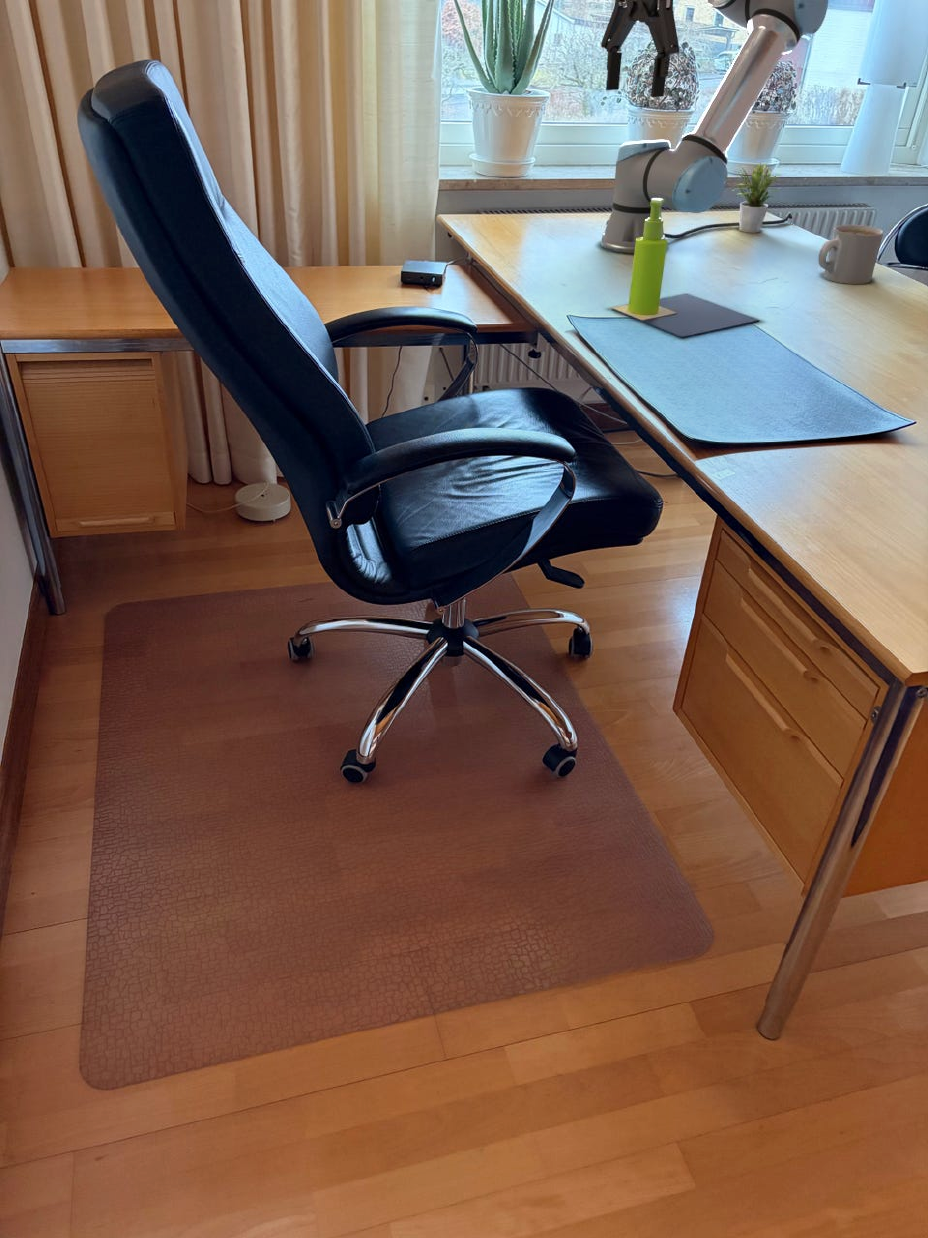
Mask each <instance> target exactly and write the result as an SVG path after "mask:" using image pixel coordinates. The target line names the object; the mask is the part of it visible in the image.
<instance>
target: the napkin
mask: <svg viewBox="0 0 928 1238" xmlns="http://www.w3.org/2000/svg"><path fill="white" fill-rule="evenodd" d="M628 305H629V304H624V305H619V306H613V307H611V310H612V311H614V312H617V313H618V314H622V315H623V316H626V317H628V318H631V319H634V320H636V321H637V322H641V323H643V324H645V325H647V326H651V327H653V328H655V329H657V330H661V331H663V332H665V333H668V334H669V335H673V336H675V337H677V338H679V339H685V338H691V337H695V336H699V335H704V334H708V333H713V332H717V331H718V332H719V331H722V330H726V329H731V328H735V327H740V326H746V325H751V324H754V323H755V324H756V323H758V322H760V319H757V318H755V317H753V316H749V315H746V314H744V313H741V312H738V311H736V310H733V309H730V308H727V307H725V306H723V305H722V306H721V305H718V304H716V303H713V302H710V301H708V300H705V299H703V298H699V297H697V296H694V295H692V294H688V293H685V294H679V295H674V296H669V297H664V298H660V302H659V310H658V313H656V314H652V315H639V314H634V313H631V312H629V311H628Z"/></svg>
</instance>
